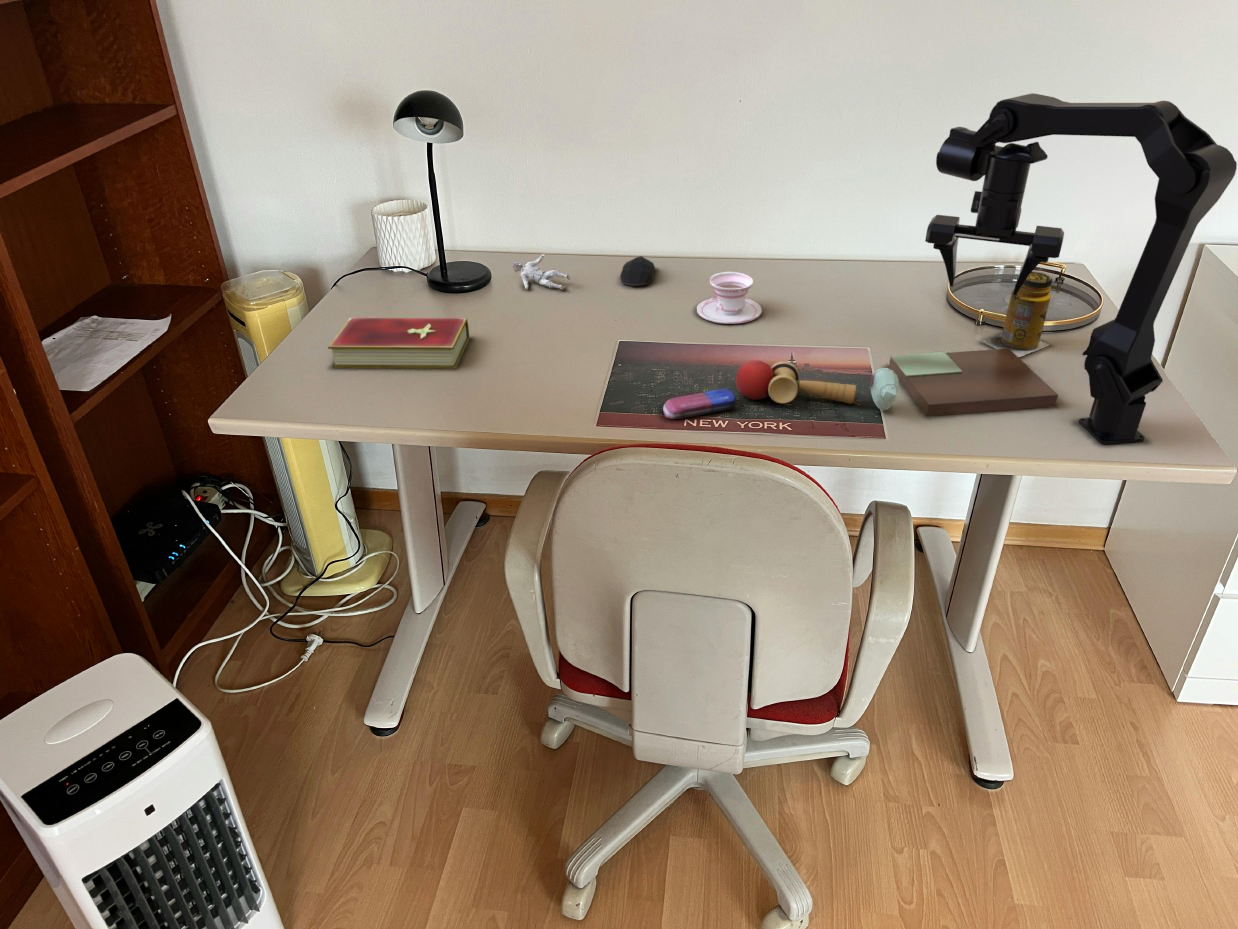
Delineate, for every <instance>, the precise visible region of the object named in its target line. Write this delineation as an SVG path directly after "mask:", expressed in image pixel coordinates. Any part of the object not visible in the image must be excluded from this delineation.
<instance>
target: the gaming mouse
mask: <svg viewBox="0 0 1238 929" xmlns="http://www.w3.org/2000/svg"><path fill="white" fill-rule="evenodd" d="M655 272H656V267H655V264H654V262H652V261H651V260H649V259H647V258H645V257H644V256H643V255H640V256H637V257H635V258H632V259H630V260H629V261H627V262H625V263H624V264H623V266H622V271H620V275H619V276H620V282H621V283H622V284H624V285H627V286H631V287H640V286H646V285H649V284H650V283H652V282H653V281H654V280H653V279H654V276H655Z"/></svg>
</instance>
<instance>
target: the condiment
mask: <svg viewBox="0 0 1238 929" xmlns="http://www.w3.org/2000/svg"><path fill="white" fill-rule="evenodd" d="M1017 279H1018V277H1017V278H1016V280H1017ZM1052 284H1053V278H1052V277H1051V276H1050V275H1048V274H1046V273H1043V272H1038V271H1032V272H1031V273H1030V274H1029V276H1028V277H1027V279H1026V280H1025V282H1024V283H1023V285H1022V286H1021V288H1020V290H1019V291H1018V293H1017V294H1016V295H1013V293H1014V288H1013V289H1012V290H1011V294H1010V296H1009V302H1008V307H1007V311H1006V315H1005V319H1004V323H1003V327H1002V328H1003V329H1002V333H1001V334H999V335H995V336H993V337H990V338H988V339H984V340H982V341H981V343H983V344H985V345H987V346H989V347H991V348H993V349H1007V348H1009V349H1010V350H1011V351H1012V352H1013V353H1014V354H1015V355H1016V356H1017V357H1019V358H1021V357H1024V356H1026V355H1029V354H1031V353H1034V352H1038V351H1039V350H1041V349H1044V348H1046V347H1049V346H1050V343H1047V342H1045V341H1042V340H1041V337H1042V333H1043V329H1044V325H1045V321H1046V317H1047V313H1048V310H1049V306H1050V302H1051V293H1050V292H1051V289H1052Z"/></svg>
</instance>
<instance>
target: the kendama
mask: <svg viewBox="0 0 1238 929" xmlns="http://www.w3.org/2000/svg"><path fill="white" fill-rule="evenodd" d="M735 387H736V389H737V392H738V393H740V394H741V395H742V396H743V397H744V398H746V399H750V400H754V401H755V400H762V399H764V398H768V397H770V398H771V400H772V401H773V402H775V403H777V404H789V403H791V402H792V401H794V400H795V398H796V397H797V395H798V392H801V393H805V394H808V395H811V396H815V397H821V398H824V399H827V400H829V399H830V400H833V401H837V402H842V403H844V404H848V405H853V404H854V401H855V399H856V394H857V385H856V384H848V383H838V382H829V381H828V382H827V381H820V380H803V379H800V374H799V370H798V368H797V367H796V365H795V364H794V363H792V362H790V361H786V360H781V361H778V362H776V363H774V364H772V365H771V366H770V364H768V363H767V362H765V361H762V360H755V359H754V360H749V361H746V362H745V363H743V364H742V365H741V366H740V367H739V368H738V371H737V372H736V376H735Z"/></svg>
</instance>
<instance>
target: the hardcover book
mask: <svg viewBox="0 0 1238 929" xmlns="http://www.w3.org/2000/svg"><path fill="white" fill-rule="evenodd" d="M469 341H470V327H469V321H468V318H466V317H465V318H464V317H463V318H462V317H461V318H460V317H459V318H457V317H456V318H455V317H453V318H452V317H451V318H449V317H446V318H445V317H444V318H443V317H439V318H438V317H437V318H436V317H435V318H434V317H407V318H406V317H349V318H348V319H347V321H346V322H345V323H344V324H343V326H342V327H341V329H340V330H339V331H338V333H337V334H336V335H335V337H334V338H333V339H332V341H331V342H330V343H329V345H328V346H327V348H328V350H331V351H332V357H333V361H334V363H333V364H332V365H331V367H332V369H410V370H411V369H414V370H416V369H418V370H419V369H423V370H424V369H425V370H426V369H427V370H430V369H431V370H432V369H433V370H434V369H435V370H456V369H457V367H458V365H459V363H460V361H461V358H462V356H463V354H464V352H465V349H466V347H467V346H468V343H469Z"/></svg>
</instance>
